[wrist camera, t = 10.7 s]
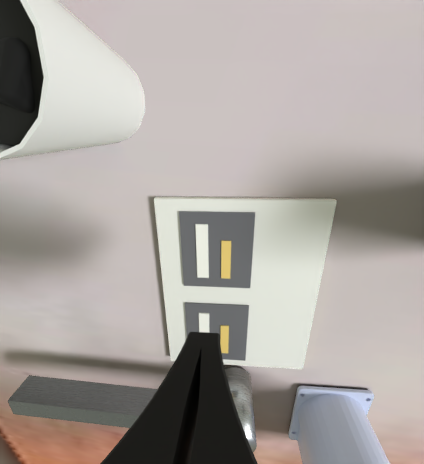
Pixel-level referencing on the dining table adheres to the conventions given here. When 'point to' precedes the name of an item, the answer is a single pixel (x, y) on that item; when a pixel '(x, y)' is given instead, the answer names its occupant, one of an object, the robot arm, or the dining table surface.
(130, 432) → the robot arm
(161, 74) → the dining table surface
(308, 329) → the label board
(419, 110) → the dining table surface
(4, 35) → the white tumbler
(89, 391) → the swing arm
